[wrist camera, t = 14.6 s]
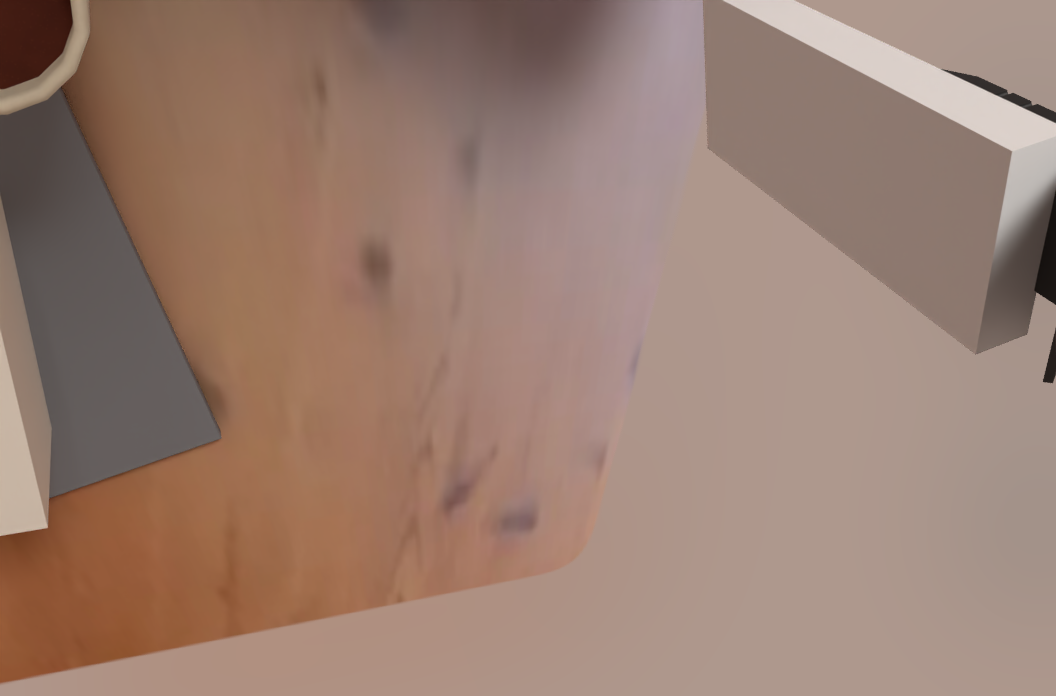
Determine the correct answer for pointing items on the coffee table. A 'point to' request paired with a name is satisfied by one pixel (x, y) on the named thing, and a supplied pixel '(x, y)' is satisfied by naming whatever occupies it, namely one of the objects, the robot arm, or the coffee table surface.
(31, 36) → the character mug
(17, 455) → the cream block
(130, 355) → the rubber mat
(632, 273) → the coffee table surface
